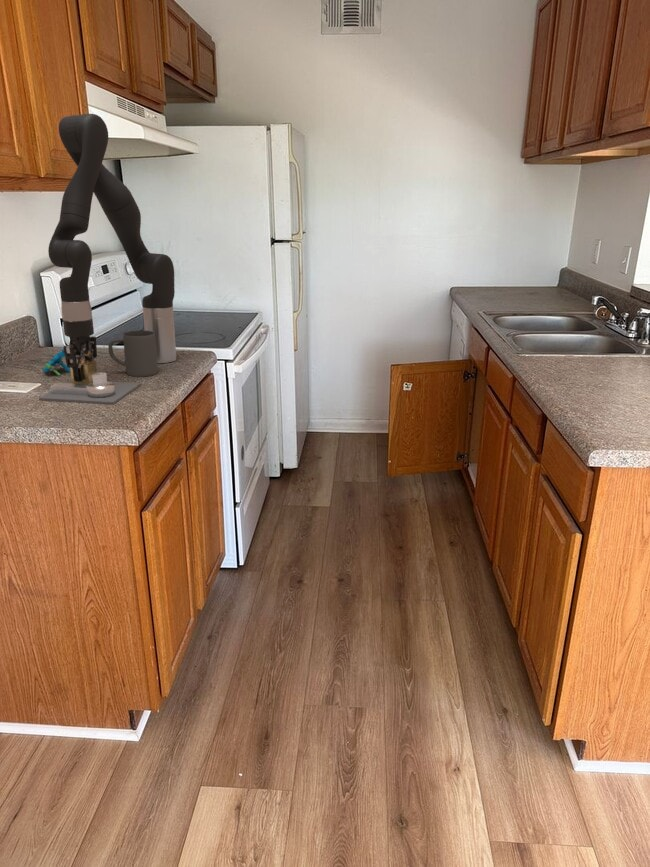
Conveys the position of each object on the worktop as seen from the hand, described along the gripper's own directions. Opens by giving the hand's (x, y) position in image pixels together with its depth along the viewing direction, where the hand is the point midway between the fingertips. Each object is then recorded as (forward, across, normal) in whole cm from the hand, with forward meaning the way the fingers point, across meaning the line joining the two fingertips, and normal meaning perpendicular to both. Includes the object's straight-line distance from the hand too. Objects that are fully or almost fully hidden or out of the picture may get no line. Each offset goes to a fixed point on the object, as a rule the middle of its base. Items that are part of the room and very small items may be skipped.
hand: (84, 377), depth 177 cm
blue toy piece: (+3, -12, -15) cm, 19 cm away
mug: (+2, -15, +8) cm, 17 cm away
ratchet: (+2, +9, +4) cm, 10 cm away
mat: (+2, +6, +5) cm, 8 cm away
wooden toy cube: (+2, 0, 0) cm, 2 cm away
